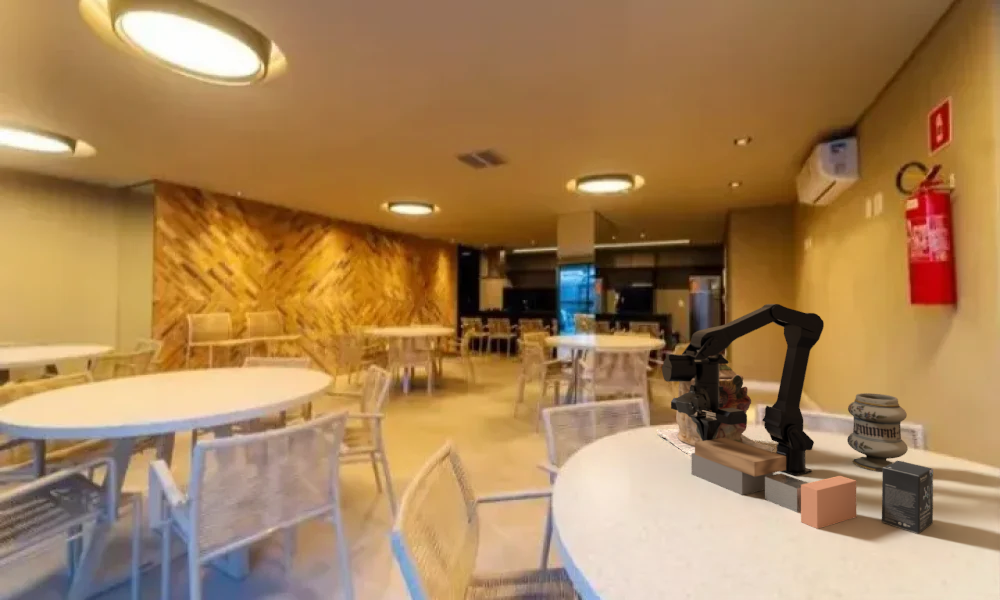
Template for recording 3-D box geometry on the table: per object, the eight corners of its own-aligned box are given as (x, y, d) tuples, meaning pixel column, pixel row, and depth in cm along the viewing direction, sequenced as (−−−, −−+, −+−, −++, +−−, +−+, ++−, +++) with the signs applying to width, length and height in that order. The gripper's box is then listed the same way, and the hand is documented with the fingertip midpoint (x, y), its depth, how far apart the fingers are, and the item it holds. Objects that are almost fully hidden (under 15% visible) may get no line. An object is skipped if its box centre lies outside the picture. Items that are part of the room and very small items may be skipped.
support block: (781, 496, 102) (781, 473, 102) (813, 509, 96) (813, 484, 96) (765, 499, 100) (765, 476, 100) (797, 513, 94) (797, 488, 94)
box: (919, 534, 85) (919, 475, 85) (881, 522, 90) (880, 466, 90) (934, 524, 89) (933, 467, 89) (896, 512, 94) (896, 459, 94)
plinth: (721, 468, 119) (721, 448, 119) (773, 487, 107) (773, 465, 107) (691, 474, 115) (691, 453, 115) (742, 495, 102) (742, 471, 103)
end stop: (840, 510, 95) (839, 475, 95) (856, 516, 92) (856, 480, 92) (801, 521, 90) (800, 484, 90) (817, 528, 87) (817, 490, 87)
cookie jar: (653, 434, 152) (653, 333, 152) (726, 432, 154) (725, 333, 154) (692, 459, 127) (692, 339, 127) (778, 456, 130) (778, 339, 130)
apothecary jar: (855, 470, 118) (855, 398, 118) (841, 456, 129) (841, 390, 129) (916, 477, 114) (916, 402, 114) (896, 462, 125) (896, 393, 125)
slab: (724, 449, 118) (724, 437, 118) (786, 470, 104) (786, 456, 104) (694, 454, 114) (694, 442, 114) (754, 476, 100) (754, 462, 100)
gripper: (654, 377, 123) (654, 438, 123) (713, 390, 106) (713, 460, 106) (687, 375, 127) (687, 433, 127) (748, 386, 110) (748, 454, 110)
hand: (706, 444), depth 117 cm, fingers closed
